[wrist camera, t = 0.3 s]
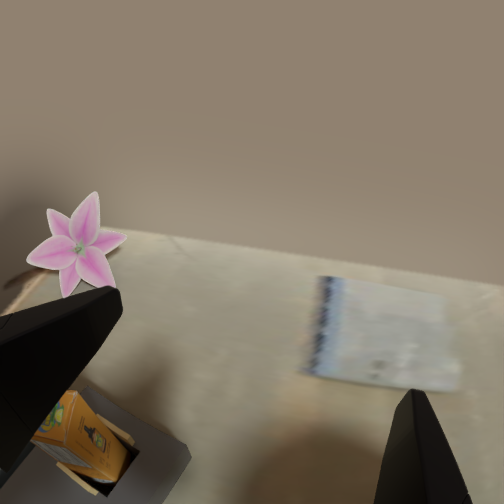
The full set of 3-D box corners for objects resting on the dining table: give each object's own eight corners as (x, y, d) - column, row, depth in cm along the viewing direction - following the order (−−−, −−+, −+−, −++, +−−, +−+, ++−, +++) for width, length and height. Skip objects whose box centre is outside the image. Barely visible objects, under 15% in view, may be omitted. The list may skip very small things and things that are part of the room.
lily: (33, 293, 34) (9, 260, 26) (65, 222, 40) (55, 179, 32) (111, 322, 36) (103, 295, 28) (138, 245, 42) (140, 204, 35)
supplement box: (92, 447, 18) (31, 380, 13) (132, 453, 19) (83, 388, 13) (87, 483, 16) (15, 430, 10) (129, 491, 16) (70, 445, 10)
